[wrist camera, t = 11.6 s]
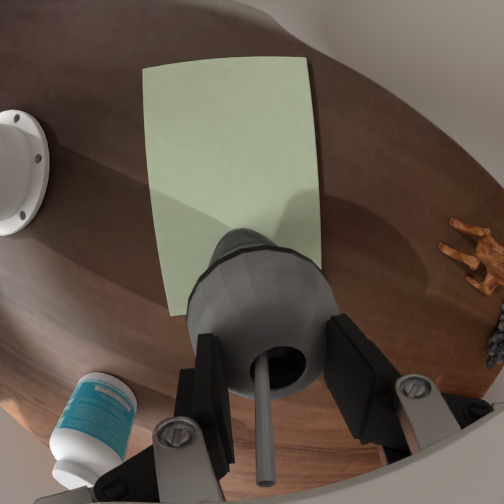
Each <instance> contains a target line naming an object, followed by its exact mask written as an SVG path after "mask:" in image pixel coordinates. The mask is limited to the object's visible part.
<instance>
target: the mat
mask: <svg viewBox="0 0 504 504" xmlns="http://www.w3.org/2000/svg"><path fill="white" fill-rule="evenodd" d="M143 107H144V128H145V143H146V156H147V167H148V177H149V187H150V196H151V204H152V212H153V220H154V227H155V234H156V240H157V247H158V253H159V259H160V265H161V271H162V276H163V282H164V287H165V292H166V297H167V302H168V307H169V312H170V316H177V315H186V313H187V304H188V298H189V296H190V294H191V292H192V290H193V288H194V286H195V284H196V282H197V280H198V278H199V277H200V276H201V275H202V274H203V273H204V272H205V271H206V270H207V268H208V265H209V263H210V260H211V257H212V255H213V252H214V250H215V248H216V246H217V244H218V242H219V241H220V239H221V238H222V237H223V236H224V235H225V234H226V233H227V232H229V231H231V230H233V229H238V228H247V229H252V230H254V231H256V232H258V233H260V234H262V235H264V236H265V237H267V238H268V239H269V240H271V241H272V242H274V243H275V244H277V245H278V246H280V247H285V248H291V249H293V250H295V251H297V252H299V253H300V254H302V255H304V256H306V257H308V258H310V259H312V260H313V262H314V263H315V264H316V265H317V266H318V267H319V268H320V269H321V225H320V201H319V182H318V166H317V153H316V140H315V129H314V119H313V109H312V100H311V91H310V83H309V75H308V67H307V60H306V58H304V57H234V58H218V59H207V60H197V61H189V62H181V63H174V64H168V65H162V66H156V67H151V68H145V69H143Z"/></svg>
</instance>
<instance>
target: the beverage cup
mask: <svg viewBox="0 0 504 504" xmlns="http://www.w3.org/2000/svg"><path fill="white" fill-rule="evenodd" d="M335 315H340V314H339V309H338V306H337V303H336V300H335V298H334V295H333V292H332V289H331V287H330V284H329V282H328V279H327V276H326V275H325V274H324V273H323V272H322V270H321V269H320V268H319V267H318V266H317V265H316V264H315V263H314V262H313V260H312V259H310V258H308V257H306V256H304V255H302V254H300V253H299V252H297V251H295V250H293V249H291V248H285V247H280V246H278V245H277V244H275V243H274V242H272V241H271V240H269V239H268V238H267V237H265V236H264V235H262V234H260V233H258V232H256V231H254V230H252V229H247V228H238V229H233V230H231V231H229V232H227V233H226V234H225V235H224V236H223V237H222V238H221V239H220V241H219V242H218V244H217V246H216V248H215V250H214V252H213V255H212V257H211V260H210V263H209V265H208V268H207V270H206V271H205V272H204V273H203V274H202V275H201V276H200V277H199V278H198V280H197V282H196V284H195V286H194V288H193V290H192V292H191V294H190V296H189V298H188V304H187V313H186V323H187V327H188V331H189V335H190V339H191V342H192V346H193V350H194V353H195V356H196V349H197V338H198V334H204V333H213V336H219V340H220V347H221V354H222V361H223V367H224V372H225V378H226V382H227V387H228V391H229V392H231V393H234V394H236V395H240V396H243V397H246V398H249V399H253V400H255V432H256V485H258V486H260V487H271V486H274V485H275V483H276V474H275V459H274V444H273V429H272V415H271V400H274V399H280V398H284V397H289V396H291V395H293V394H295V393H298V392H300V391H302V390H304V389H305V388H307V387H308V386H309V385H311V384H312V383H313V382H314V381H316V380H317V379H318V378H319V377H320V375H321V374H322V373H323V372H324V367H325V362H326V353H327V338H326V322H327V320H330V318H331V316H335Z"/></svg>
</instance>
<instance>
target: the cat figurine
mask: <svg viewBox="0 0 504 504" xmlns="http://www.w3.org/2000/svg"><path fill="white" fill-rule="evenodd" d="M449 224H450V225H451V226H452V227H454V228H455V229H457V230H458V231H460V232H463V233H465V234H468V235H472V236H475V237H478V238H479V241H478V243H477V245H476V248H475V250H474V254H473V256H470V255H467V254H464V253H462V252H459V251H456V250H454V249H452V248H450V247H448V246H447V245H445V244H444V243H442V242H440V244H439V246H438V249H439V250H440V251H441V252H443V253H444V254H446V255H448V256H450V257H452V258H454V259H456V260H459V261H461V262H464V263H466V264H467V265H469V266H470V268H471V269H472V270H476V269H477V267H478V265H479V263H480V262H482V263H483V264H484V265H485V266H486V268H487V274H486V278H485V280H484V281H483V282H481V283H479V282H478V281H476V280H474V279H472V278H470V277H469V276H466V280H467V282H469V283H470V284H472V285H473V286H474V287H475V288H477V289H478V290H480V291H482V292H484V293H485V294H486V295H491V293H492V292H493V290H494V288H495V287H496V286H497V285H498V284H499V285H502V286H504V245H499V244H497V243H496V242H495V240H494V239H493V238H492V237H491V231H490V229H488V228H481V227H477V226H473V225H468V224H465V223H463V222H461V221H458V220H457V219H455V218H454V217H451V218H450V221H449Z"/></svg>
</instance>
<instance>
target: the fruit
mask: <svg viewBox="0 0 504 504" xmlns="http://www.w3.org/2000/svg"><path fill="white" fill-rule="evenodd" d="M501 309H502V311H503V312H504V302H503V303H502V305H501ZM499 320H500V322H499V324H498V329H499V330H498V331H497V332H494V333H493V335H492V337H490V338H489V340H488V345H489V347H488V348H487V349H486V354H487V355H488V356H489V357H488V359H487V360H486V362H485V367H486V368H487V369H492V368H493V367H494V365H495V363H497V364H500V363H502V362H503V361H504V313H502V314H501V315H500V317H499Z"/></svg>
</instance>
